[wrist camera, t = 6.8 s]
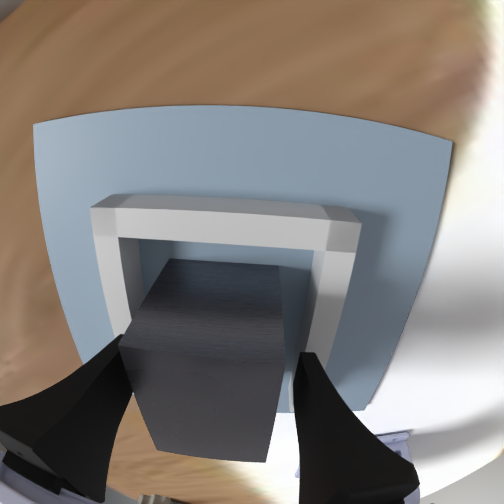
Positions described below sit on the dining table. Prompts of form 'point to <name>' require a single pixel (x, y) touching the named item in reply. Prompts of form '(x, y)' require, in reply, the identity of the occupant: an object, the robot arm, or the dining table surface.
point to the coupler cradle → (246, 221)
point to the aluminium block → (209, 358)
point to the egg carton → (155, 500)
